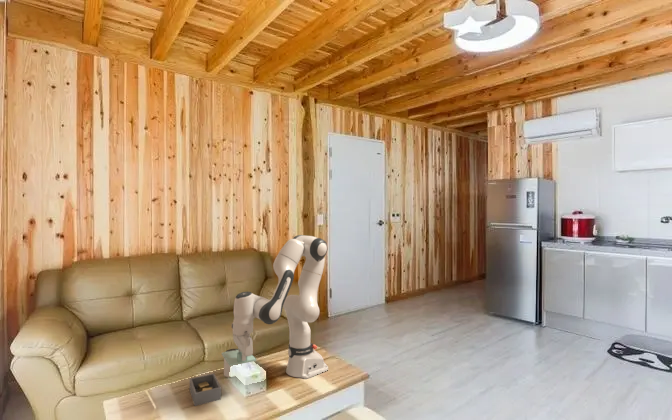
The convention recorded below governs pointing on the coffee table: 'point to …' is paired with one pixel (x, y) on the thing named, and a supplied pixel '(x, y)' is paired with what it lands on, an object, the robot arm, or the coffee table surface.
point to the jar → (227, 365)
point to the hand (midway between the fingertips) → (242, 358)
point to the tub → (205, 395)
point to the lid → (236, 357)
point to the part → (202, 386)
